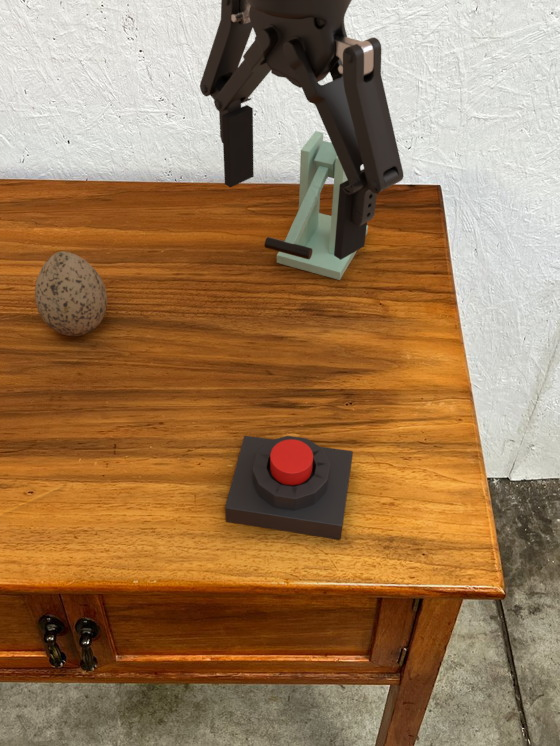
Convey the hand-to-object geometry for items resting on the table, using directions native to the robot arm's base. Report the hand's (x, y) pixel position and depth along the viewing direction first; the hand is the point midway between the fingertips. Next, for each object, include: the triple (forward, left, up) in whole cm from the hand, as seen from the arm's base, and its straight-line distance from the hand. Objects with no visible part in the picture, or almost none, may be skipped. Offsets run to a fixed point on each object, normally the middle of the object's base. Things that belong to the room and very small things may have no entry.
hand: (291, 214), depth 65 cm
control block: (+3, -15, -19) cm, 24 cm away
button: (+3, -15, -16) cm, 22 cm away
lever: (0, +17, -10) cm, 20 cm away
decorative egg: (-23, +2, -20) cm, 30 cm away
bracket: (+1, +21, -19) cm, 29 cm away
